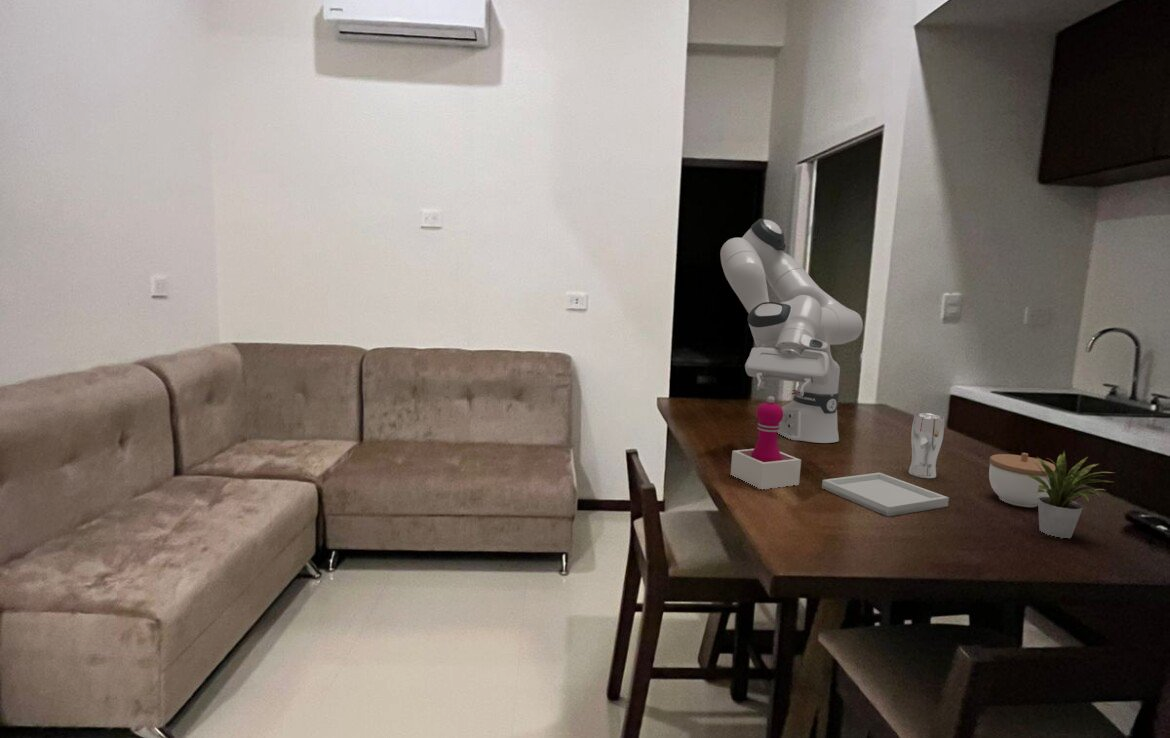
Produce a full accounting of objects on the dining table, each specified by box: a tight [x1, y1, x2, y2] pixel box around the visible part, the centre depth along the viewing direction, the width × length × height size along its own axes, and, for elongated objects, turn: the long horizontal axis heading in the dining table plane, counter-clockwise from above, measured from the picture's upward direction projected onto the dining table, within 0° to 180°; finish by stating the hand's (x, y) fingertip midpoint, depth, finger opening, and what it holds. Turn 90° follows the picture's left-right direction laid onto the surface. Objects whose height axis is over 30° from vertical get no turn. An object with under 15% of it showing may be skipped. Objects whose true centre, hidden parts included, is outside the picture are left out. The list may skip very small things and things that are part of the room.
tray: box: [821, 472, 950, 518], centre depth 143 cm, size 18×18×2 cm
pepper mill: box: [750, 395, 783, 462], centre depth 150 cm, size 7×7×20 cm
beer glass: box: [908, 412, 945, 479], centre depth 160 cm, size 7×7×15 cm
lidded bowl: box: [988, 452, 1055, 508], centre depth 143 cm, size 13×13×11 cm
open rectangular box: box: [730, 448, 802, 491], centre depth 151 cm, size 11×11×6 cm
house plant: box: [1027, 450, 1115, 539], centre depth 124 cm, size 14×14×16 cm
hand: (779, 391), depth 157 cm, fingers open, 8 cm apart
